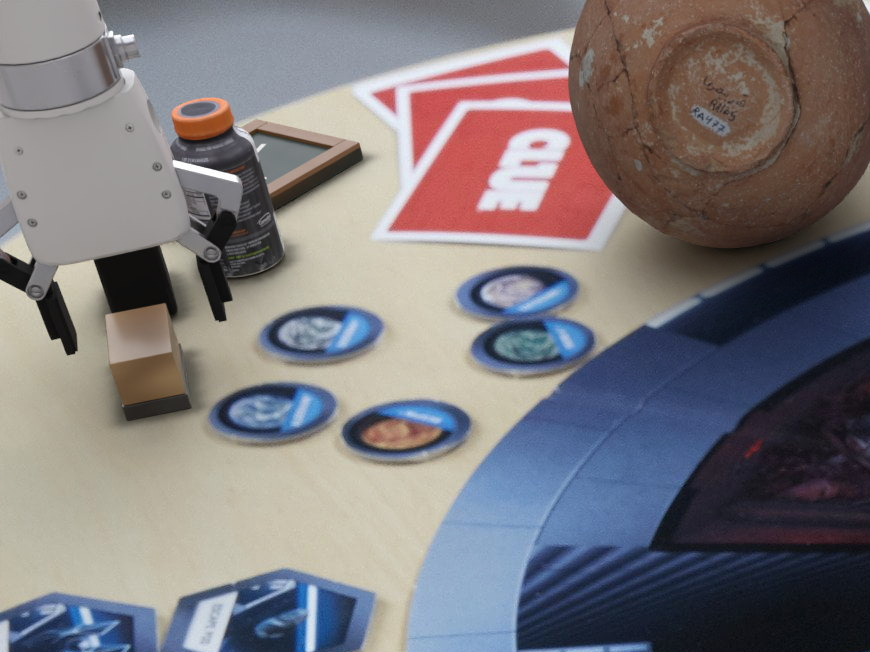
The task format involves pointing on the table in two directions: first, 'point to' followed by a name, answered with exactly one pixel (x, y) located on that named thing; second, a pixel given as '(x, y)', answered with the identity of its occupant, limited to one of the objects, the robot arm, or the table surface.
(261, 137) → the board
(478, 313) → the table surface
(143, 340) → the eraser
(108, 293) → the battery
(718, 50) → the jug
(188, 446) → the table surface
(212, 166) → the pill bottle
